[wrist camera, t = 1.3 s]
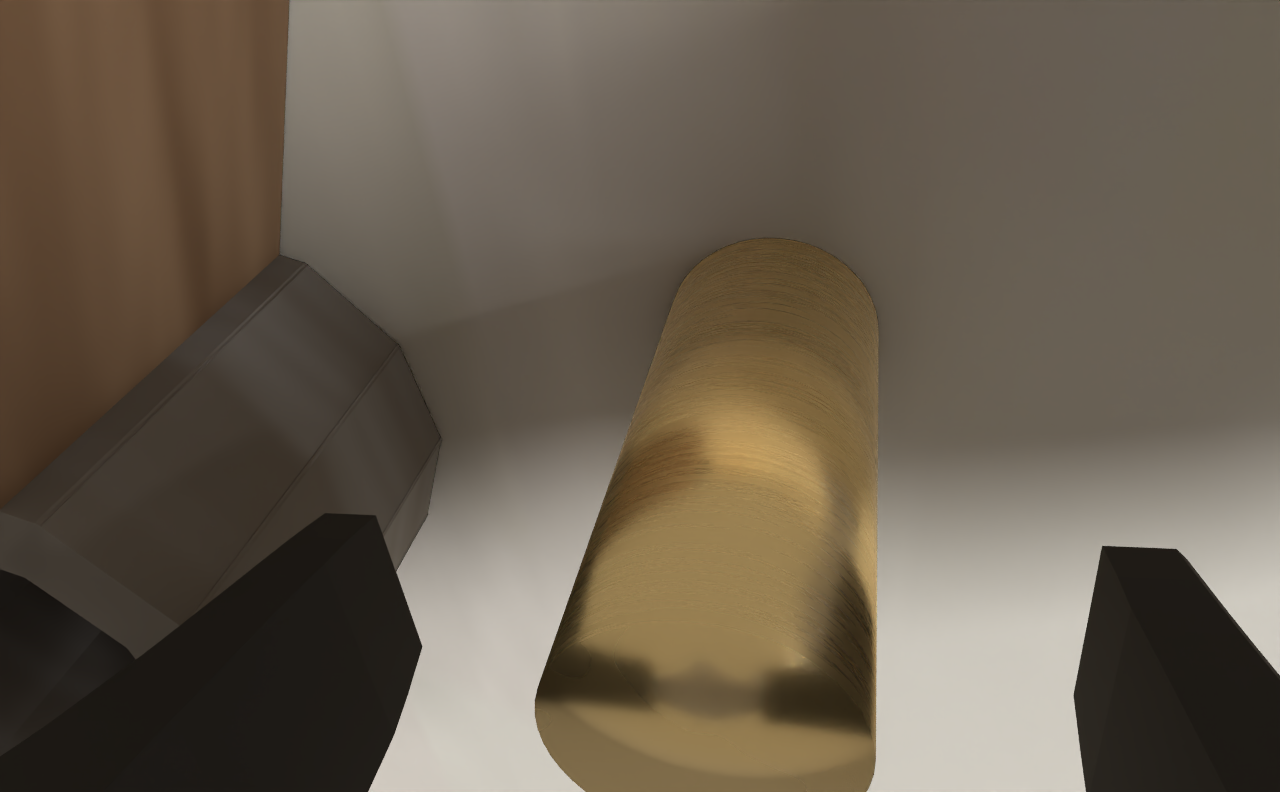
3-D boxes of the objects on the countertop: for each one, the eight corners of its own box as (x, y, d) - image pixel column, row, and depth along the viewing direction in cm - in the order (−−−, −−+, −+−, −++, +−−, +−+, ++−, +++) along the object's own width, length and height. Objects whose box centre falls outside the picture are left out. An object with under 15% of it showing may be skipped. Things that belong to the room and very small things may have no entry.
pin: (913, 280, 13) (936, 700, 8) (831, 441, 15) (801, 878, 9) (704, 209, 13) (573, 576, 8) (647, 379, 15) (507, 777, 9)
